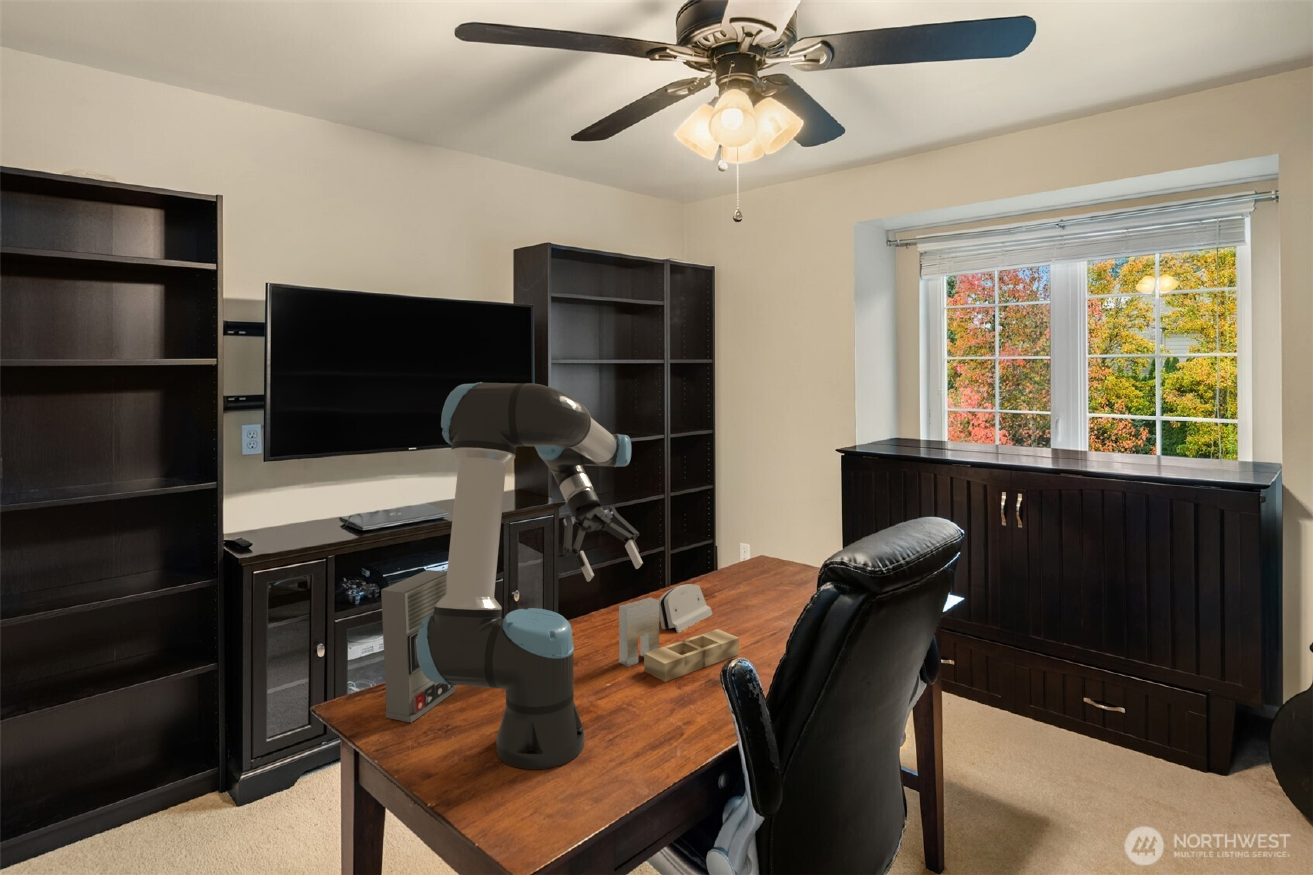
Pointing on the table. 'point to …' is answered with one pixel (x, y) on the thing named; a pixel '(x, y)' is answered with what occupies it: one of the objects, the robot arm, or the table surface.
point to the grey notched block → (638, 629)
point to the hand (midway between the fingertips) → (615, 572)
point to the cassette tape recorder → (410, 645)
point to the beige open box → (690, 654)
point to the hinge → (683, 607)
